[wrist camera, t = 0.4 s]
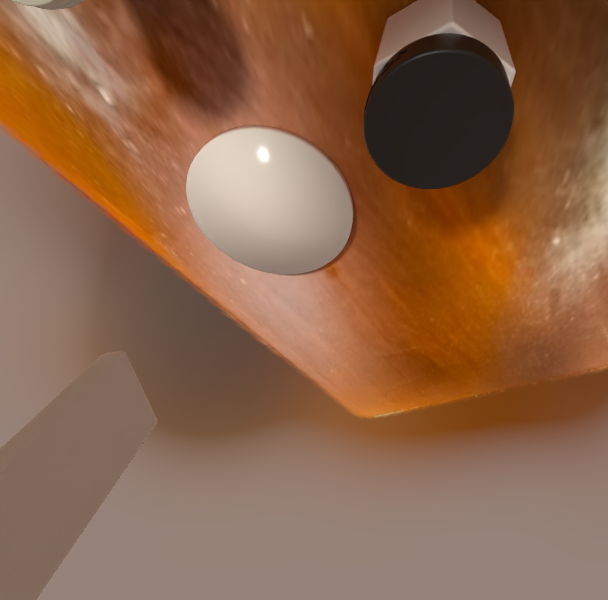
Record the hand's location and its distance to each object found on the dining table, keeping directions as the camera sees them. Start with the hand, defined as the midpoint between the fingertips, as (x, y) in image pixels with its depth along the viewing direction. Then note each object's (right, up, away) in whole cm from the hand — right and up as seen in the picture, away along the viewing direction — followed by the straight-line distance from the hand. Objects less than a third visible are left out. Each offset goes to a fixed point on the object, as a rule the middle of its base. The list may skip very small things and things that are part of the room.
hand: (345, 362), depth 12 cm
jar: (+9, +20, +20) cm, 30 cm away
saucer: (-5, +12, +34) cm, 36 cm away
